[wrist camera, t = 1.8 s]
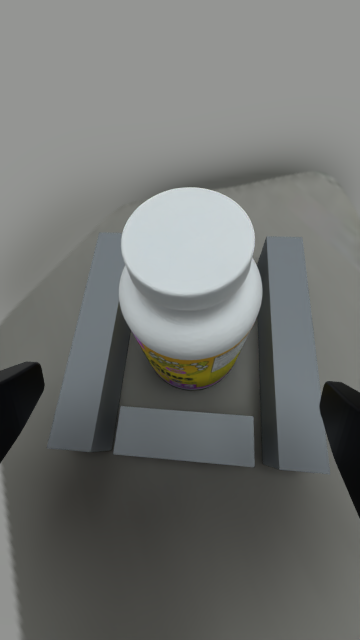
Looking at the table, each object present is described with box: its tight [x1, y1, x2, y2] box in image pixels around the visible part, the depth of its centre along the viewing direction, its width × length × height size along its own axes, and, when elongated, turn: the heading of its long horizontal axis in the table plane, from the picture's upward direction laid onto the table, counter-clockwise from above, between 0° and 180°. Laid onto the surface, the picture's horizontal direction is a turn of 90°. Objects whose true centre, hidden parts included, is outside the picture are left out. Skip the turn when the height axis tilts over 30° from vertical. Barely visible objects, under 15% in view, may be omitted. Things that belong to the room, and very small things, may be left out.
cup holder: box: [47, 233, 330, 474], centre depth 19 cm, size 15×15×4 cm
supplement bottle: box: [119, 187, 262, 390], centre depth 15 cm, size 7×7×13 cm
